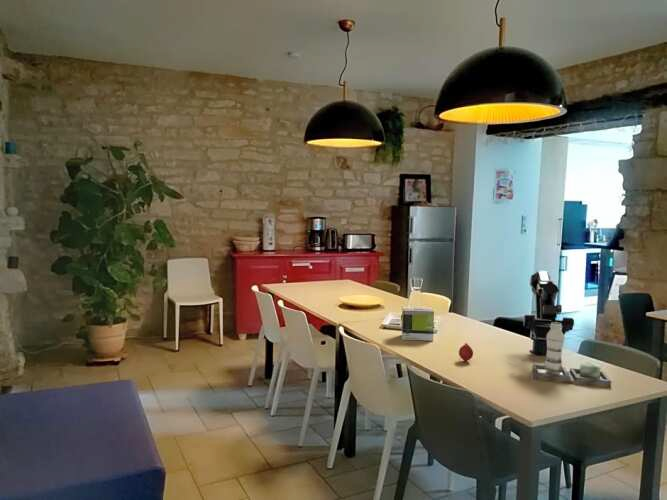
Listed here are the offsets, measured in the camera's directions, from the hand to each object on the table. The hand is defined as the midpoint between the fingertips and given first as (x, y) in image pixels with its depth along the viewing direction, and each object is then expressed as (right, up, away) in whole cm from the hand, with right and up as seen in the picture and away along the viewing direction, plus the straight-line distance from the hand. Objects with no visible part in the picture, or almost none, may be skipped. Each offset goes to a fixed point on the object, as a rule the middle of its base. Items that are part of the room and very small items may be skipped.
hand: (549, 340), depth 206 cm
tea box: (-45, -8, +48) cm, 66 cm away
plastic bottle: (-1, -12, -6) cm, 13 cm away
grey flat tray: (+5, -13, -7) cm, 16 cm away
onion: (-31, -11, +11) cm, 34 cm away
